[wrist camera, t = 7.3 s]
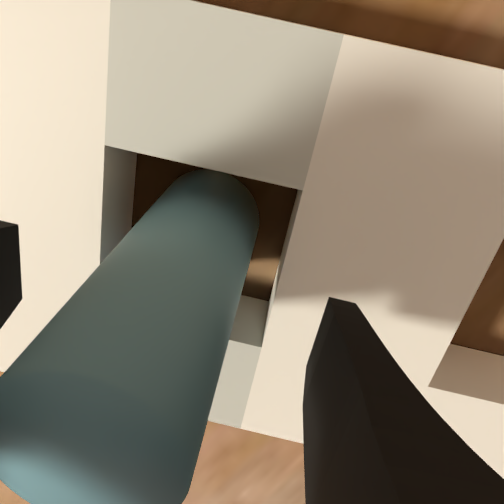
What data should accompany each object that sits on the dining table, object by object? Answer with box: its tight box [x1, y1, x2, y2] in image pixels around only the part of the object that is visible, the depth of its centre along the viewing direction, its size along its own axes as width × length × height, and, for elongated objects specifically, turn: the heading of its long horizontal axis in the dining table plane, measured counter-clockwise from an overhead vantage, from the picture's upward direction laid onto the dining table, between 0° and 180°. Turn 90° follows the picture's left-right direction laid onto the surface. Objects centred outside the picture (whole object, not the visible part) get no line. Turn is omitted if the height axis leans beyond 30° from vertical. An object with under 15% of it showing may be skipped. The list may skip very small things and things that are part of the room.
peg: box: [0, 169, 259, 504], centre depth 10 cm, size 3×3×9 cm
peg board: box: [0, 0, 504, 479], centre depth 13 cm, size 22×12×2 cm, turn 79°
